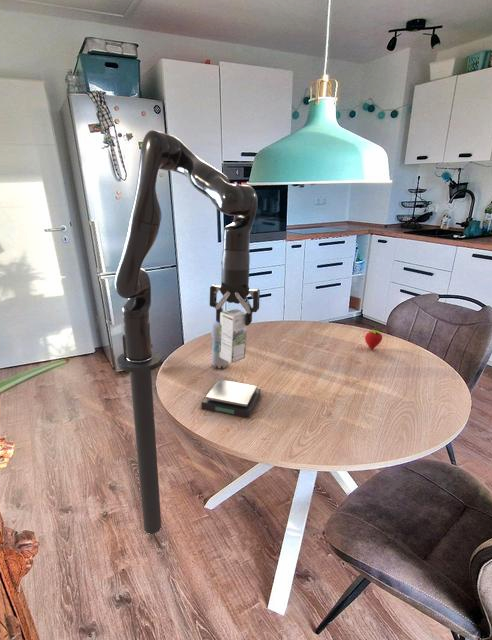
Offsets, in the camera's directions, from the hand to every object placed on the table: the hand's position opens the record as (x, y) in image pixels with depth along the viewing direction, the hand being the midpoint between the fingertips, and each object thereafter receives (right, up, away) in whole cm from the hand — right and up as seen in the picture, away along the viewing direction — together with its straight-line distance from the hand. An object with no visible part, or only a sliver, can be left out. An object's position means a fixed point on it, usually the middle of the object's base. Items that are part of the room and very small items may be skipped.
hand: (233, 323), depth 111 cm
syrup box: (-1, -10, +5) cm, 11 cm away
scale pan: (-1, -21, +9) cm, 23 cm away
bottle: (-6, -13, +34) cm, 37 cm away
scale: (-1, -24, +11) cm, 26 cm away
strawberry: (+58, -6, +54) cm, 80 cm away
